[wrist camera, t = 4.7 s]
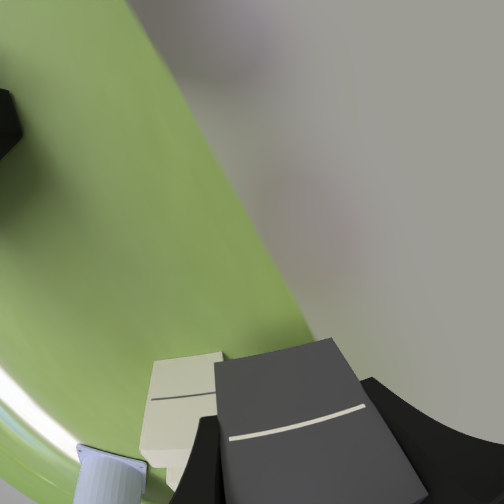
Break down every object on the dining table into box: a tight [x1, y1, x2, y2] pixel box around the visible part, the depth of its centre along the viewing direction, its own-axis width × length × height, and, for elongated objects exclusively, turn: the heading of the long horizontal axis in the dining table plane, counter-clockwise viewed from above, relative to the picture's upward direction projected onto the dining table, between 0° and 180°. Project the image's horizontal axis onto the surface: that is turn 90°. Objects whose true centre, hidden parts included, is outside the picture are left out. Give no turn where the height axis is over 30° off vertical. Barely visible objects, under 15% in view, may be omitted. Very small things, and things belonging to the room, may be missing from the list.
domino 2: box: [214, 338, 428, 504], centre depth 8 cm, size 2×5×8 cm, turn 98°
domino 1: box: [139, 351, 224, 468], centre depth 16 cm, size 2×5×8 cm, turn 98°
